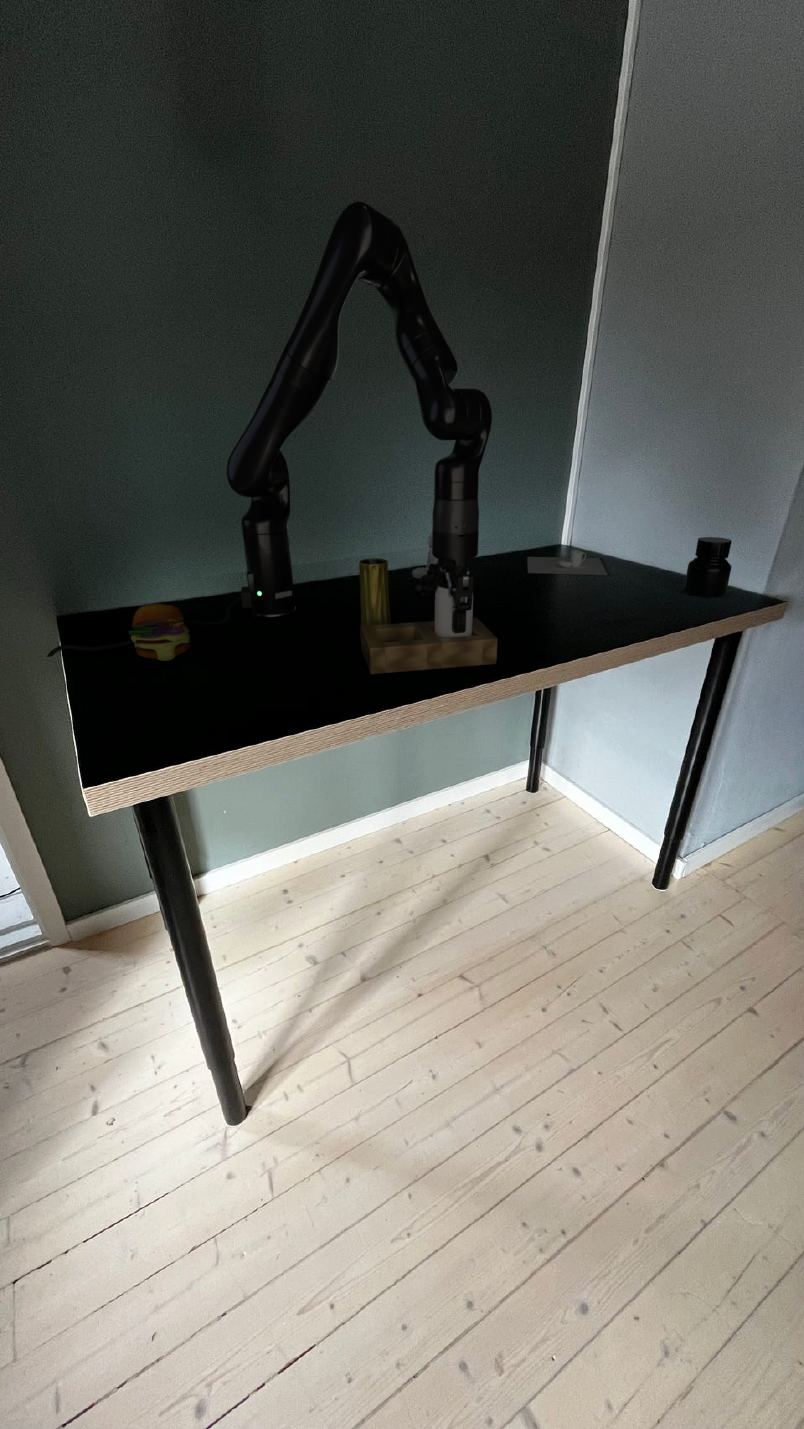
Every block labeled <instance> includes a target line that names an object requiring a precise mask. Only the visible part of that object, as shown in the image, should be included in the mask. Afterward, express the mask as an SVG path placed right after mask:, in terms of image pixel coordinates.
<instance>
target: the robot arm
mask: <svg viewBox="0 0 804 1429" xmlns="http://www.w3.org/2000/svg"><path fill="white" fill-rule="evenodd" d="M357 280H358V281H360V282H362V283H364V284H367V285H368V286H370V287H374V288H375V290H376V291H377V292H378V293H379V294H380V296H381V297H382V298H383V300H384V301H385V302H386V304H387V306H388V307H389V309H390V311H391V314H392V318H393V322H394V337H395V343H396V346H397V349H398V352H399V354H400V357H401V359H402V361H403V363H404V365H405V367H406V369H407V370H408V372H409V374H410V377H411V379H412V381H413V382H414V385H415V389H416V396H417V400H418V405H419V410H420V416H421V419H422V420H421V421H422V422H423V425H424V427H425V429H426V430H427V431H428V433H429V435H431V436H432V437H433V438H435V439H436V440H439V441H443V442H444V441H446V442H447V441H448V442H449V441H454V443H453V444H454V445H453V448H452V451H451V452H450V453H449V455H446V456H444V457H442V458H440V459H438V461H437V462H436V463H435V465H434V473H433V474H434V477H433V481H434V482H433V483H434V484H433V492H434V493H433V507H432V516H431V517H432V523H431V524H432V526H431V528H432V530H431V533H432V554H433V556H434V557H435V558H438V583H439V582H442V584H445V583H446V584H447V588H448V597H449V598H451V599H452V610H453V611H452V631H453V632H454V633H464V632H465V631H466V611H468V610H471V608H472V593H473V594H474V592H473V590H474V579H475V577H474V574H473V573H470V572H469V571H470V569H469V570H468V569H467V566H468V564H467V562H468V561H469V560H473V559H474V558H476V557H477V556H478V555H479V533H480V503H479V502H480V501H479V492H480V491H479V490H480V469H481V466H482V463H483V460H484V457H485V453H486V448H487V446H488V441H489V437H490V433H491V431H492V425H493V409H492V404H491V401H490V399H489V397H488V396H487V394H486V393H485V391H482V390H481V389H478V388H452V387H451V386H450V385H452V383H453V382H454V381H455V380H456V377H457V375H458V372H459V363H458V361H457V358H456V355H455V354H454V352H453V350H452V347H451V346H450V344H449V342H448V340H447V339H446V336H445V334H444V332H443V331H442V329H441V326H440V325H439V323H438V321H437V319H436V317H435V315H434V313H433V311H432V309H431V307H430V305H429V304H430V303H429V302H428V299H427V298H426V295H425V291H424V290H423V286H422V283H421V280H420V278H419V274H418V272H417V269H416V266H415V263H414V260H413V255H412V253H411V250H410V247H409V244H408V242H407V239H406V235H405V234H404V232H403V231H402V229H401V227H400V226H399V225H398V224H396V222H394V221H393V220H392V219H390V218H389V217H387V216H386V215H384V214H382V213H381V212H380V211H379V210H377V209H376V208H374V207H372V206H371V205H369V204H368V203H367V202H364V201H359V200H358V201H354V202H351V203H350V204H348V205H347V206H346V207H345V208H344V210H342V212H341V213H340V215H339V216H338V218H337V219H336V221H335V224H334V226H333V228H332V230H331V232H330V235H329V238H328V240H327V244H326V246H325V249H324V251H323V254H322V257H321V260H320V263H319V265H318V268H317V271H316V274H315V278H314V280H313V283H312V285H311V288H310V291H309V292H308V296H307V298H306V300H305V302H304V305H303V307H302V310H301V311H300V314H299V317H298V319H297V321H296V323H295V326H294V327H293V330H292V331H291V334H290V336H289V338H288V340H287V342H286V343H285V346H284V348H283V350H282V352H281V354H280V356H279V359H278V361H277V363H276V365H275V368H274V370H273V372H272V375H271V377H270V379H269V382H268V384H267V386H266V388H265V390H264V392H263V394H262V396H261V398H260V400H259V403H258V404H257V407H256V409H255V411H254V414H253V415H252V418H251V419H250V421H249V423H248V424H247V426H246V428H245V430H244V431H243V433H242V434H241V436H240V437H239V439H238V441H237V443H236V444H235V445H234V447H233V449H232V451H231V452H230V454H229V457H228V460H227V464H226V479H227V482H228V485H229V486H230V489H231V490H232V491H233V492H234V493H235V494H237V495H238V496H239V497H244V498H250V505H249V507H248V509H247V511H246V512H245V513H244V514H243V515H242V517H241V520H240V523H241V531H242V541H243V548H244V556H245V557H244V558H245V565H246V582H247V586H241V588H240V596H238V597H237V598H236V599H234V600H233V601H231V602H230V603H229V604H228V606H227V608H226V613H225V614H226V616H225V617H224V618H223V619H221V620H219V621H216V622H208V621H207V622H206V621H200V620H184V621H183V623H184V626H186V625H193V626H194V625H195V626H199V625H203V626H205V625H222V624H225V623H227V622H228V621H230V618H231V611H232V608H233V607H234V606H235V605H236V604H238V603H240V602H241V607H242V609H248V608H250V614H251V618H252V619H265V620H274V619H275V620H276V619H283V618H287V617H290V616H292V615H295V614H296V613H297V605H296V598H295V586H294V576H293V565H292V564H293V563H292V553H291V542H290V531H289V520H290V516H291V513H292V504H291V503H292V502H291V501H292V500H291V478H290V470H289V469H290V468H289V465H288V462H287V461H288V460H287V459H286V457H285V455H284V453H283V452H282V451H281V448H282V446H283V445H284V443H285V442H286V441H287V439H288V438H289V437H290V435H291V434H292V433H293V432H294V431H295V430H296V429H297V428H298V427H299V426H300V425H301V424H302V423H303V422H305V420H306V419H307V418H308V417H309V416H310V415H311V413H313V411H314V410H315V409H316V408H317V406H318V405H319V404H320V402H321V400H322V399H323V397H324V396H325V393H326V392H327V391H328V390H327V389H328V388H329V386H330V384H331V382H332V380H333V378H334V376H335V374H336V372H337V369H338V365H339V360H340V327H341V326H340V324H341V318H342V317H341V316H342V313H343V309H344V307H345V304H346V302H347V299H348V297H349V295H350V293H351V291H352V289H353V286H354V285H355V283H356V281H357ZM452 588H456V592H454V591H453V590H452ZM461 597H463V603H460V599H461ZM132 644H135V642H133V641H132V639H131V638H130V639H128V640H125V641H120V642H116V643H111V644H105V645H99V646H88V645H87V646H86V645H77V644H62V645H59V646H57V647H55V648H52V650H50V651H49V652H48V654H46V658H50V657H53V656H54V655H55V654H56V653H58V652H60V651H64V650H74V651H75V650H76V651H85V652H100V651H106V650H111V649H116V648H121V647H124V646H129V645H132Z"/></svg>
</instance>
